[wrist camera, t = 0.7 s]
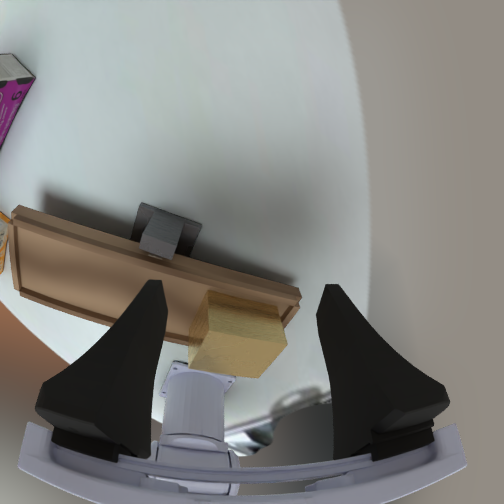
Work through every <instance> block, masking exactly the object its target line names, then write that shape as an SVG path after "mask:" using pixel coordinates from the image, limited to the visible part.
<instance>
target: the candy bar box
mask: <svg viewBox="0 0 504 504" xmlns="http://www.w3.org/2000/svg"><path fill="white" fill-rule="evenodd" d="M34 79H35V77H34V76H33V75H32V74H31V72H29V71H28V70H27V69H26V68H24V67H23V66H22V65H21V63H20V62H19V61H18V60H17V59H16V58H15V57H14V56H13V55H12V54H0V148H1V146H2V143H3V141H4V139H5V136H6V134H7V132H8V129H9V127H10V125H11V123H12V121H13V118H14V116H15V114H16V112H17V110H18V108H19V106H20V104H21V102H22V101H23V99H24V97H25V95H26V93H27V91H28V90H29V88H30V86H31V84H32V83H33V81H34Z"/></svg>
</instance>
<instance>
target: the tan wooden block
mask: <svg viewBox="0 0 504 504" xmlns="http://www.w3.org/2000/svg"><path fill="white" fill-rule="evenodd" d="M287 345H288V344H287V340H286V337H285V333H284V329H283V326H282V322H281V319H280V315H279V312H278V308H277V306H274V305H269V304H265V303H261V302H256V301H252V300H248V299H244V298H240V297H235V296H231V295H227V294H223V293H219V292H215V291H211V290H208V289H207V291H206V294H205V296H204V298H203V300H202V302H201V304H200V306H199V308H198V311H197V313H196V315H195V317H194V319H193V321H192V324H191V326H190V328H189V337H188V369H194V370H200V371H206V372H212V373H219V374H226V375H233V376H241V377H250V378H259V377H260V376H261V374H262V373H263V372H264V371H265V370H266V369H267V368H268V367H269V366H270V364H271V363H272V362H273V361H274V360H275V359H276V358H277V356H278V355H279V354H280V353H281V352H282V351H283V349H284V348H285V347H286V346H287Z"/></svg>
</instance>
